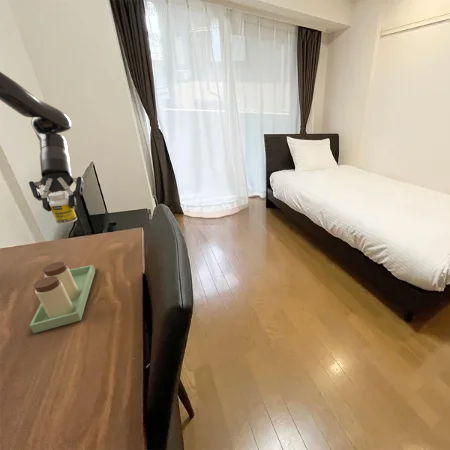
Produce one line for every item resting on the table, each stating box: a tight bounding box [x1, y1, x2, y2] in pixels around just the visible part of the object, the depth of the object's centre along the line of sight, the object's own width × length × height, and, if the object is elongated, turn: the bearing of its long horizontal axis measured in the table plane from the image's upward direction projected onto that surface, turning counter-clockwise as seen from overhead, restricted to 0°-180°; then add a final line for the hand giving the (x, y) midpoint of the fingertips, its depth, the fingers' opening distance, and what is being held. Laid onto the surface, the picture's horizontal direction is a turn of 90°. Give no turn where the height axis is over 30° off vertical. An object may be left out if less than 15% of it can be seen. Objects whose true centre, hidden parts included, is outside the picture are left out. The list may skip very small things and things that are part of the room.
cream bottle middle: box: [42, 261, 80, 300], centre depth 73 cm, size 5×5×10 cm
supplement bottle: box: [48, 191, 78, 225], centre depth 88 cm, size 5×5×10 cm
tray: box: [29, 264, 96, 334], centre depth 75 cm, size 23×9×2 cm, turn 27°
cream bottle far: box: [33, 276, 74, 319], centre depth 67 cm, size 5×5×10 cm
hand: (60, 208), depth 87 cm, fingers closed on supplement bottle, 5 cm apart
